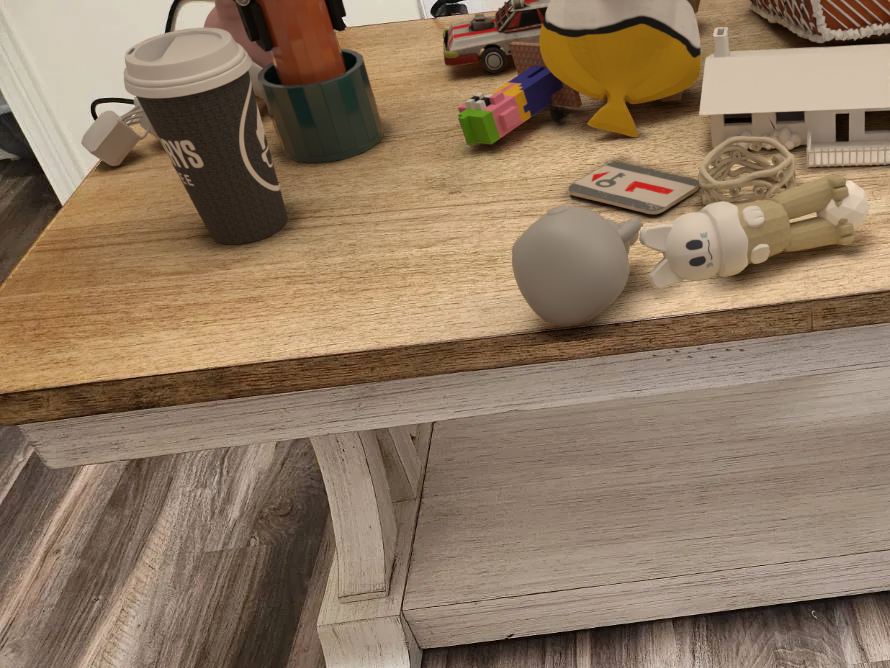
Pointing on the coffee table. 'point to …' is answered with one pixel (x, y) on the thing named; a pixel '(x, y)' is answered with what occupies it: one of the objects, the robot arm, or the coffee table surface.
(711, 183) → the bracelet
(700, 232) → the rabbit figurine
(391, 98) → the coffee table surface
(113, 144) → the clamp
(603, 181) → the token
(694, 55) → the fish
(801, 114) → the house
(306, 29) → the cup
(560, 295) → the figurine
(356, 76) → the teal round container
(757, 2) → the gingerbread house
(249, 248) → the coffee table surface
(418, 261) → the coffee table surface
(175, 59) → the coffee cup
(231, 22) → the figurine
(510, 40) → the toy car
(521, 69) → the figurine
